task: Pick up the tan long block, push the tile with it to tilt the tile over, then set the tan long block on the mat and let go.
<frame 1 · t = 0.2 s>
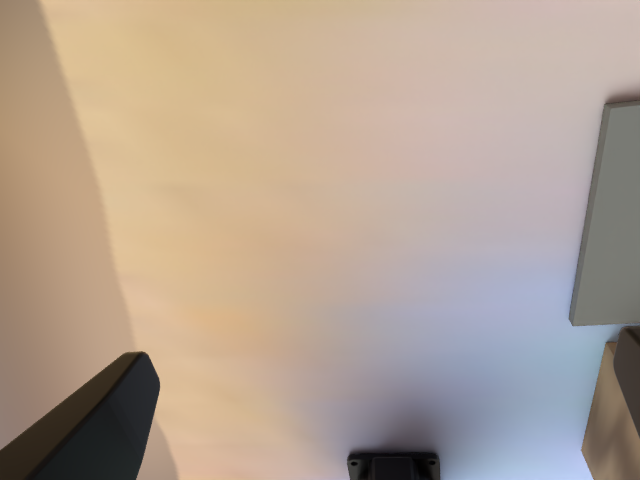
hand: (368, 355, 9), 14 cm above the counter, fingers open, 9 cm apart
tan long block: (613, 399, 29), on the counter
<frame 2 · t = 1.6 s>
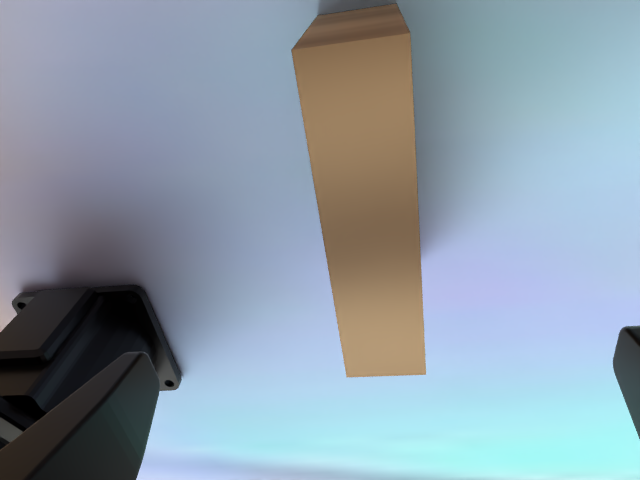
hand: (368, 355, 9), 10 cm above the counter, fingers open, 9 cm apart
tan long block: (370, 157, 18), on the counter
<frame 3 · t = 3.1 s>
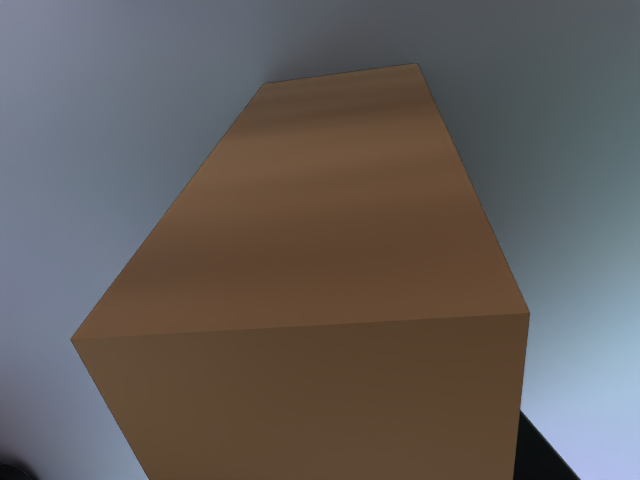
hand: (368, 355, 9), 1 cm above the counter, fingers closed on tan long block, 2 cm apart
tan long block: (367, 312, 10), on the counter, touching gripper
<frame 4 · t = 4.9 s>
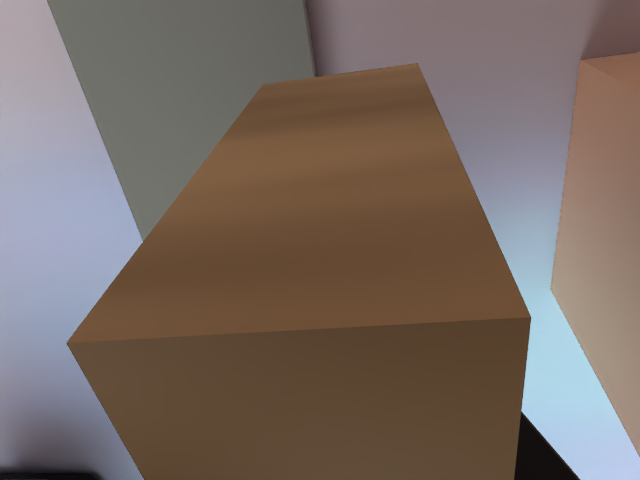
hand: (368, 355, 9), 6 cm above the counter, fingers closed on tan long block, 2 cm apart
tile: (605, 185, 13), on the counter
mat: (194, 49, 12), on the counter
tan long block: (367, 313, 10), point 5 cm above the counter, touching gripper
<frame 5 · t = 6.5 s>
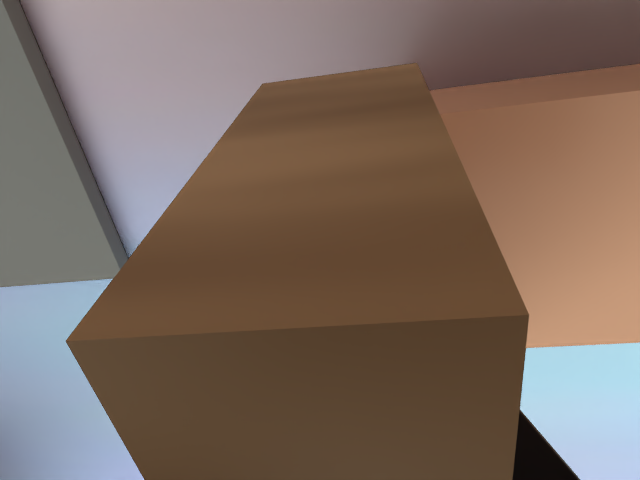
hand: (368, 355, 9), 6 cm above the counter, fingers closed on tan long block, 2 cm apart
tile: (396, 232, 13), point 1 cm above the counter, tilted 90°
tan long block: (367, 313, 10), point 4 cm above the counter, touching gripper
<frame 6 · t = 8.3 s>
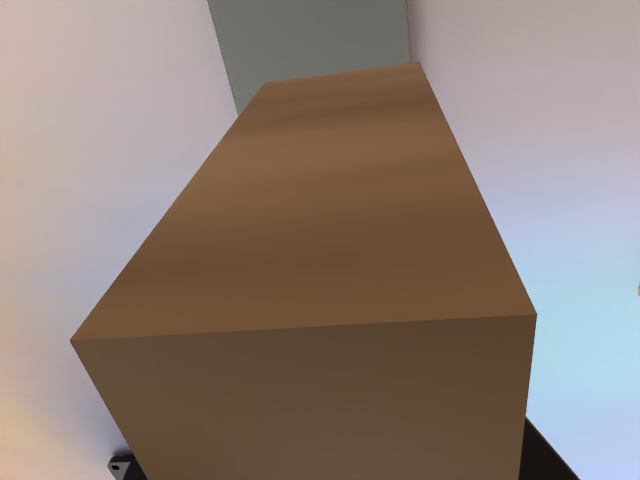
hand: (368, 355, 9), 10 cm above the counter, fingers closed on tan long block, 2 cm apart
mat: (331, 138, 17), on the counter
tan long block: (369, 313, 10), point 9 cm above the counter, touching gripper
when the fingers open (3 cm above the counter, at t = 9.9 s): tan long block stays where it is, resting on mat.
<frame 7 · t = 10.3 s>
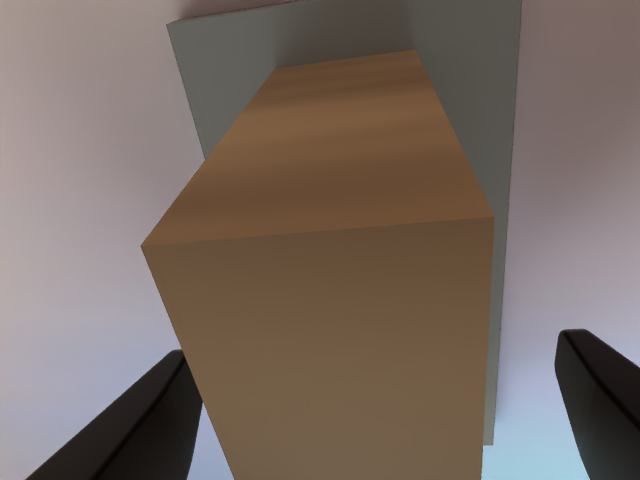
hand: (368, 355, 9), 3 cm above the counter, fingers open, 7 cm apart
mat: (368, 270, 11), on the counter
tan long block: (369, 284, 11), point 1 cm above the counter, touching mat
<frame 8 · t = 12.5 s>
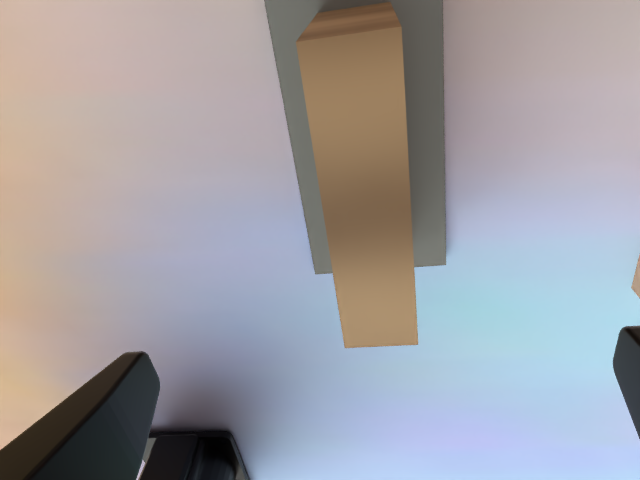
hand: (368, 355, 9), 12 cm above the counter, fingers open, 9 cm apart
mat: (366, 141, 19), on the counter
tan long block: (367, 145, 19), point 1 cm above the counter, touching mat
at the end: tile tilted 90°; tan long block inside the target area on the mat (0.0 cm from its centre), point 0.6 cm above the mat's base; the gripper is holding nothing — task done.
